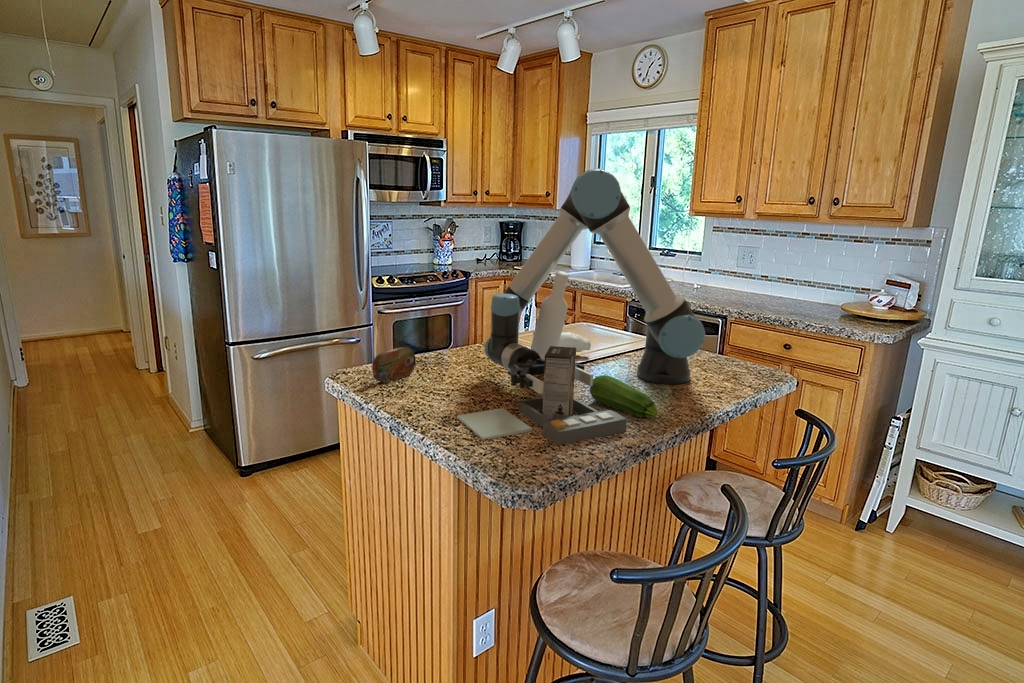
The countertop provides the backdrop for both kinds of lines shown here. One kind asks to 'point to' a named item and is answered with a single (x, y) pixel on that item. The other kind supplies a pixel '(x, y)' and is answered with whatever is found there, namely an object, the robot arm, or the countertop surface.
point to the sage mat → (494, 423)
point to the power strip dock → (574, 422)
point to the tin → (393, 364)
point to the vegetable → (622, 397)
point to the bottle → (551, 317)
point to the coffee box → (559, 382)
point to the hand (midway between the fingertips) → (567, 384)
